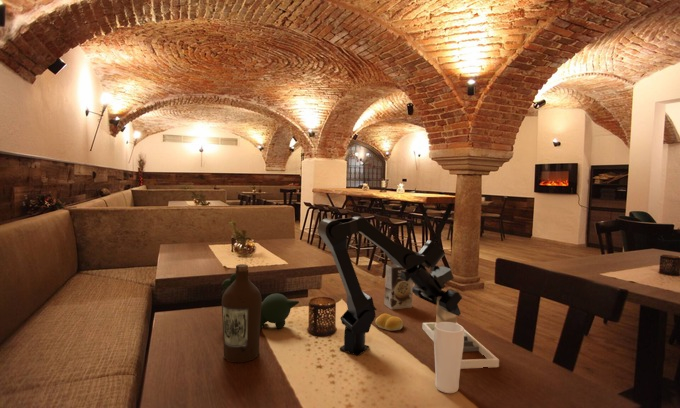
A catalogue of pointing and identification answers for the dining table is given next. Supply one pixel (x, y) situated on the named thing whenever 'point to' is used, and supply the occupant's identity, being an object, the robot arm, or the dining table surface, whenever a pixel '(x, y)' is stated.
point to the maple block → (444, 315)
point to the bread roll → (389, 322)
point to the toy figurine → (270, 306)
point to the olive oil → (241, 318)
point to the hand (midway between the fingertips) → (450, 310)
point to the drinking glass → (448, 355)
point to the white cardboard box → (397, 288)
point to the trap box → (469, 349)
